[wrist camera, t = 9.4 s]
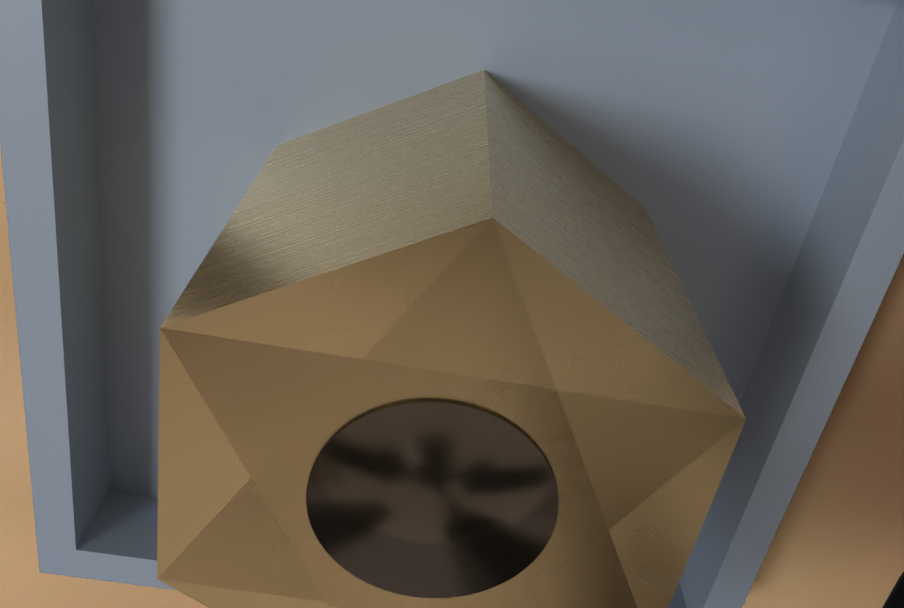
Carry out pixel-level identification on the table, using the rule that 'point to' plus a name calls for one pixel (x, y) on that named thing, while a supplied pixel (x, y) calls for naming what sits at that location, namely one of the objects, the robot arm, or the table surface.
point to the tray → (393, 79)
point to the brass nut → (436, 378)
